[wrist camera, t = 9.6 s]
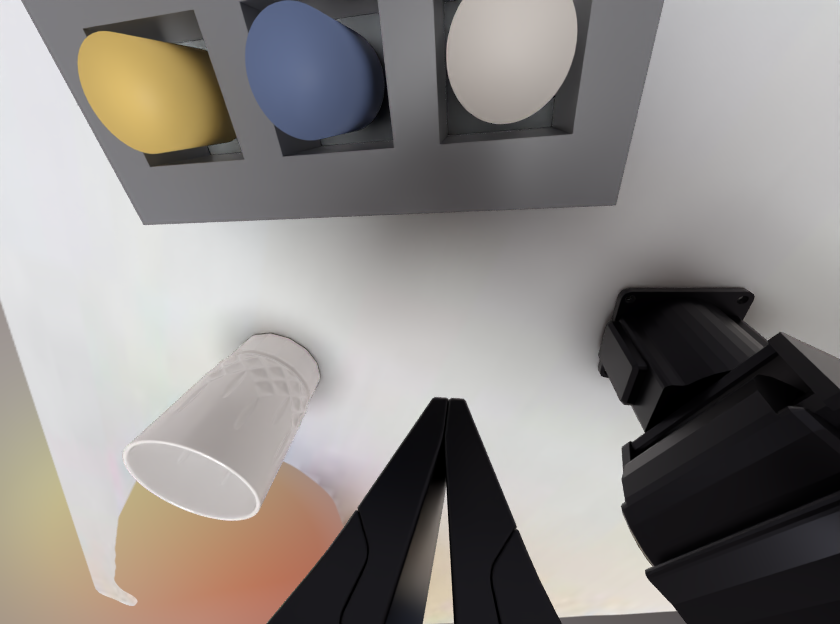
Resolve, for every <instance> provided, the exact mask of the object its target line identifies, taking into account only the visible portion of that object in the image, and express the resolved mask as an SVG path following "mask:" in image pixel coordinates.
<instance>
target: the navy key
mask: <svg viewBox="0 0 840 624" xmlns="http://www.w3.org/2000/svg"><path fill="white" fill-rule="evenodd" d="M245 65H246V72H247V77H248V81H249V84H250V87H251V90H252V93H253V95H254V97H255V99H256V101H257V103H258V105H259V106H260V108H261V109H262V111H263V112H264V114H265V115H266V116H267V117H268V119H269V120H270V121H271V122H272V123H273V124H274V125H275V126H276V127H278V128H279V129H280V130H282V131H283V132H285V133H287V134H288V135H290V136H293V137H295V138H298V139H302V140H319V139H323V138H328V137H332V136H336V135H340V134H345V133H349V132H353V131H357V130H360V129H362V128H364V127H366V126H367V125H368V124H370V123H371V122H372V121H373V119H374V118H375V117H376V115H377V114H378V112H379V110H380V107H381V105H382V101H383V96H384V75H383V70H382V67H381V63H380V61H379V58H378V56H377V54H376V52H375V51H374V49H373V48H372V46H371V45H370V44H369V43H368V41H367V40H366V39H364V38H363V37H362V36H361V35H360V34H358V33H357V32H355V31H353V30H352V29H350V28H348V27H346V26H345V25H343V24H341V23H339V22H338V21H336V20H334V19H333V18H331V17H329V16H327V15H326V14H324V13H322V12H320V11H319V10H317V9H315V8H313V7H312V6H309V5H307V4H305V3H302V2H299V1H292V0H285V1H279V2H275V3H273V4H271V5H269V6H268V7H266V8H265V9H264V10H262V11H261V12H260V14H259V15H258V16H257V17H256V19H255V20H254V22H253V24H252V26H251V28H250V30H249V33H248V37H247V41H246V48H245Z"/></svg>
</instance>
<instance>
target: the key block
mask: <svg viewBox="0 0 840 624" xmlns="http://www.w3.org/2000/svg"><path fill="white" fill-rule="evenodd" d="M21 1H22V3H23V4H24V6H25V8H26V10H27V12H28V14H29V15H30V17H31V19H32V21H33V23H34V25H35V26H36V28H37V30H38V32H39V34H40V36H41V37H42V39H43V41H44V43H45V45H46V47H47V48H48V50H49V52H50V54H51V56H52V58H53V59H54V61H55V63H56V65H57V67H58V69H59V70H60V72H61V74H62V76H63V78H64V80H65V81H66V83H67V85H68V87H69V89H70V91H71V92H72V94H73V96H74V98H75V100H76V102H77V103H78V105H79V107H80V109H81V111H82V113H83V114H84V116H85V118H86V120H87V122H88V124H89V126H90V127H91V129H92V131H93V133H94V135H95V137H96V138H97V140H98V142H99V144H100V146H101V148H102V149H103V151H104V153H105V155H106V157H107V159H108V160H109V162H110V164H111V166H112V168H113V170H114V171H115V173H116V175H117V177H118V179H119V181H120V182H121V184H122V186H123V188H124V190H125V192H126V193H127V195H128V197H129V199H130V201H131V203H132V204H133V206H134V208H135V210H136V212H137V214H138V215H139V217H140V219H141V221H142V223H143V225H156V224H180V223H204V222H228V221H252V220H276V219H300V218H324V217H348V216H372V215H396V214H420V213H444V212H468V211H492V210H516V209H540V208H564V207H588V206H612V205H616V202H617V198H618V194H619V190H620V185H621V181H622V177H623V173H624V168H625V164H626V160H627V156H628V151H629V147H630V143H631V139H632V134H633V130H634V126H635V122H636V117H637V113H638V109H639V105H640V100H641V96H642V92H643V88H644V83H645V79H646V75H647V71H648V66H649V62H650V58H651V54H652V49H653V45H654V41H655V37H656V32H657V28H658V24H659V20H660V16H661V11H662V7H663V3H664V0H573V3H574V7H575V11H576V18H577V42H576V48H575V53H574V57H573V60H572V64H571V66H570V69H569V71H568V74H567V76H566V78H565V79H564V81H563V83H562V85H561V86H560V88H559V89H558V91H557V92H556V94H555V102H554V110H553V119H552V127H547V128H535V129H523V130H511V131H498V132H486V133H474V134H462V135H450V136H448V131H447V100H446V69H445V39H444V8H443V2H450V1H456V0H292V1H299V2H302V3H305V4H307V5H309V6H312V7H313V8H315V9H317V10H319V11H320V12H322V13H324V14H326V15H327V16H329V17H331V18H333V19H338V18H344V17H351V16H358V15H364V14H371V13H377V12H379V18H380V27H381V36H382V45H383V53H384V62H385V71H386V80H387V89H388V98H389V107H390V116H391V125H392V134H393V140H389V141H376V142H364V143H352V144H340V145H328V146H321V143H320V139H319V140H302V139H298V138H295V137H293V136H290V135H288V134H287V133H285V132H283V131H282V130H280V129H279V128H278V127H276V126H275V125H274V124H273V123H272V122H271V121H270V120H269V119H268V117H267V116H266V115H265V114H264V112H263V111H262V109H261V108H260V106H259V105H258V103H257V101H256V99H255V97H254V95H253V93H252V90H251V87H250V84H249V81H248V77H247V72H246V65H245V48H246V41H247V37H248V33H249V30H250V28H251V26H252V24H253V22H254V20H255V19H256V17H257V16H258V15H259V14H260V12H261V11H262V10H264V9H265V8H266V7H268V6H269V5H271V4H273V3H275V2H279V1H285V0H21ZM98 31H110V32H116V33H121V34H126V35H131V36H136V37H142V38H147V39H152V40H157V41H162V42H167V43H180V42H187V41H193V40H200V39H204V42H205V45H206V48H207V51H208V54H209V57H210V60H211V63H212V65H213V68H214V71H215V74H216V77H217V80H218V83H219V86H220V89H221V92H222V95H223V98H224V101H225V104H226V107H227V110H228V113H229V116H230V118H231V121H232V124H233V127H234V130H235V133H236V136H237V139H238V142H239V145H240V148H241V151H242V153H230V154H218V155H210V153H209V150H208V147H207V146H202V147H196V148H189V149H183V150H177V151H171V152H164V153H158V154H149V153H144V152H141V151H138V150H135V149H133V148H131V147H130V146H128V145H126V144H125V143H123V142H122V141H120V140H119V139H118V138H117V137H115V136H114V135H113V134H112V133H111V132H110V131H109V130H108V129H107V128H106V127H105V126H104V124H103V123H102V122H101V121H100V119H99V118H98V117H97V115H96V114H95V112H94V111H93V109H92V107H91V106H90V104H89V102H88V100H87V98H86V96H85V94H84V91H83V88H82V86H81V82H80V78H79V73H78V53H79V49H80V46H81V44H82V43H83V41H84V39H86V38H87V37H88V36H89V35H91V34H92V33H95V32H98Z"/></svg>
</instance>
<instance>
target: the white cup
mask: <svg viewBox="0 0 840 624" xmlns="http://www.w3.org/2000/svg"><path fill="white" fill-rule="evenodd" d="M319 380H320V373H319V369H318V365H317V363H316V361H315V360H314V359H313V357H312V356H311V355H310V354H309V352H308V351H307V350H306V349H305V348H303V347H302V346H300V345H299V344H297V343H296V342H294V341H292V340H291V339H289V338H286V337H282V336H278V335H275V334H271V333H269V334H260V335H253V336H252V337H250V338H249V339H248V340H247V341H245V342H244V343H243V344H242V345H240V346H239V347H238V348H237V349H236V350H235V351H234V352H233V353H232V354H231V355H230V356H228V357H227V358H225V359H223V360H222V361H220V362H219V363H218V364H217V365H216V366H215V367H214V368H213V369H212V370H210V371H209V372H208V373H206V374H205V375H204V376H203V377H202V378H201V379H200V380H199V381H198V382H197V383H195V384H194V385H193V386H192V387H191V388H190V389H189V390H188V391H187V392H186V393H184V394H183V395H182V396H181V397H180V398H179V399H178V400H177V401H176V402H175V403H173V404H172V405H171V406H170V407H169V408H168V409H167V410H166V411H165V412H164V413H163V414H161V415H160V416H159V417H158V418H157V419H156V420H155V421H154V422H153V423H152V424H150V425H149V426H148V427H147V428H146V429H145V430H144V431H143V432H142V433H140V434H139V435H138V436H137V437H136V438H135V439H134V440H133V441H132V442H130V443H129V444H128V445H127V446H126V447H125V449H124V450H123V454H122V458H123V462H124V465H125V467H126V468H127V470H128V471H129V473H130V474H131V475H132V476H133V477H134V478H135V479H136V480H137V481H138V482H139V483H140V484H141V485H142V486H144V487H145V488H146V489H147V490H149V491H150V492H152V493H153V494H155V495H156V496H158V497H159V498H162V499H163V500H165V501H167V502H169V503H171V504H173V505H175V506H177V507H179V508H181V509H184V510H186V511H189V512H192V513H195V514H198V515H201V516H205V517H209V518H214V519H219V520H230V521H236V520H244V519H248V518H251V517H252V516H254V515H255V514H257V512H258V511H259V509H260V507H261V505H262V503H263V501H264V499H265V497H266V495H267V492H268V491H269V488H270V487H271V484H272V482H273V480H274V478H275V476H276V474H277V472H278V470H279V468H280V466H281V464H282V462H283V460H284V458H285V456H286V454H287V452H288V450H289V448H290V446H291V444H292V442H293V439H294V437H295V435H296V433H297V431H298V429H299V427H300V425H301V422H302V419H303V417H304V416H305V414H306V412H307V407H308V404H309V402H310V400H311V398H312V396H313V394H314V392H315V390H316V387H317V385H318V383H319Z"/></svg>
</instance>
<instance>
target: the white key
mask: <svg viewBox="0 0 840 624" xmlns="http://www.w3.org/2000/svg"><path fill="white" fill-rule="evenodd" d="M576 42H577V18H576V11H575V7H574V3H573V0H462V2H461V3H460V5H459V7H458V9H457V11H456V13H455V16H454V18H453V21H452V24H451V27H450V31H449V35H448V41H447V49H446V61H447V71H448V76H449V80H450V83H451V86H452V89H453V91H454V93H455V95H456V97H457V98H458V100H459V102H460V103H461V104H462V105H463V107H464V108H465V109H466V110H467V111H468V112H469V113H471V114H472V115H474V116H475V117H476V118H478V119H481V120H483V121H486V122H489V123H494V124H508V123H514V122H517V121H520V120H523V119H525V118H527V117H529V116H531V115H533V114H534V113H536V112H537V111H538V110H540V109H541V108H542V107H544V106H545V105H546V104H547V103H548V102H549V101H550V100H551V98H552V97H553V96H554V95H555V94H556V92H557V91H558V89H559V88H560V86H561V85H562V83H563V81H564V79H565V78H566V76H567V74H568V71H569V69H570V66H571V64H572V60H573V57H574V53H575V48H576Z"/></svg>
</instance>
